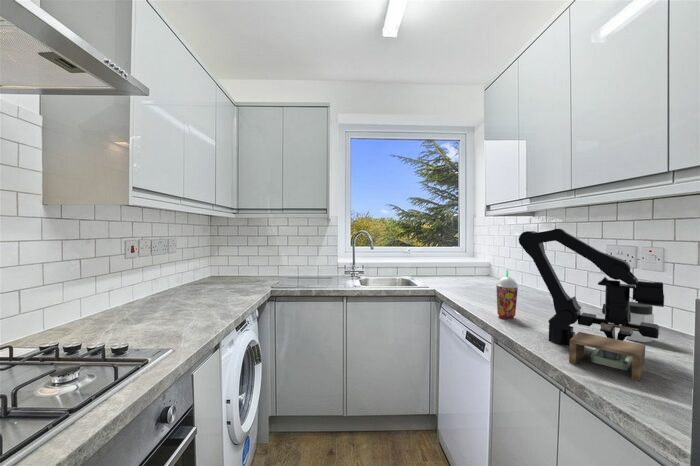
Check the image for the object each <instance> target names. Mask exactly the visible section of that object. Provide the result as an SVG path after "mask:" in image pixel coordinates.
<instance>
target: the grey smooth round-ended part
mask: <svg viewBox="0 0 700 466" xmlns="http://www.w3.org/2000/svg"><path fill="white" fill-rule="evenodd" d="M618 354H619V353H614V352H610V351H605V350H603V357H604V358H608V359H613V360H617V361H618Z"/></svg>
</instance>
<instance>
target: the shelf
mask: <svg viewBox="0 0 700 466" xmlns="http://www.w3.org/2000/svg"><path fill="white" fill-rule="evenodd" d="M585 347H587V348H588V347H589V348H593V349H596V348H597V349H601V350H605V351H610V352H614V353H619V354H623V355H627V356H632V361H631V380H633V381H637V382H640V381H641V379H642V377H643V373H644V371H645V366H646V365H645V363H646V361H645V360H646V345H645V344H641V343H635V342H630V341H625V340H623V341H621V340H617V338H615V339H612V338H607V336H601V335H596V334H591V333H587V332H581V331H578V332H577V333H575V336H573V337H572V338H571V339H570V346H569V354H568V355H569V356H568V363H569V364H573V365H577V363H578V362H579V361H580V360H581V359H582V358H583V357H584V356H585Z"/></svg>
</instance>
